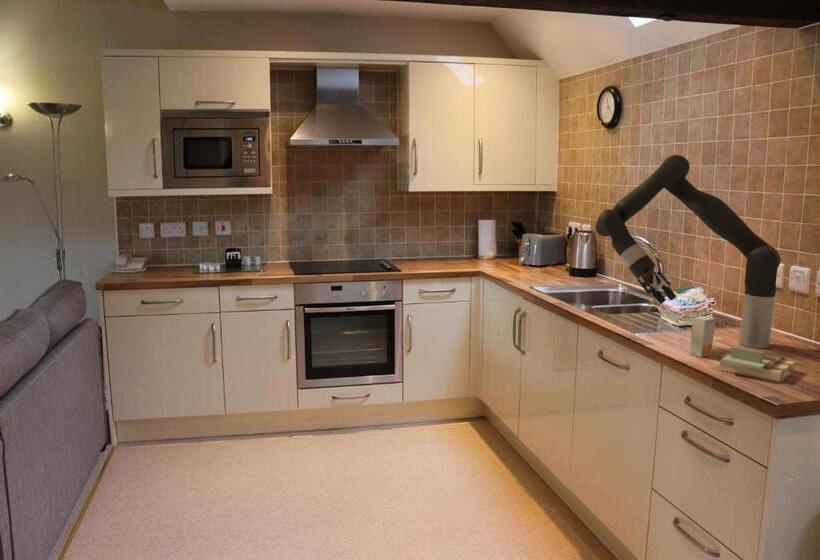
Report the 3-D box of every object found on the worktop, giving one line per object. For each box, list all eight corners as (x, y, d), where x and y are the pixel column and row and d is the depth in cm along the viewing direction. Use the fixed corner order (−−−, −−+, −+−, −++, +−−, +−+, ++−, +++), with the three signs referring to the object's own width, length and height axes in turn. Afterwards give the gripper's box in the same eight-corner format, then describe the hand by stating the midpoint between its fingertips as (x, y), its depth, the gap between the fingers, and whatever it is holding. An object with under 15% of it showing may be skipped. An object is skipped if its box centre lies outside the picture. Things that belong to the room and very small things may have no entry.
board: (736, 359, 213) (738, 347, 213) (794, 371, 203) (795, 358, 202) (719, 370, 202) (720, 356, 201) (778, 382, 191) (780, 368, 190)
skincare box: (701, 357, 214) (705, 320, 212) (688, 354, 218) (692, 317, 216) (712, 355, 218) (716, 318, 216) (699, 352, 221) (703, 315, 219)
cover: (731, 355, 205) (733, 343, 204) (770, 363, 198) (772, 350, 197) (721, 361, 199) (722, 348, 198) (761, 369, 192) (762, 356, 191)
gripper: (638, 266, 236) (668, 304, 230) (619, 270, 226) (650, 310, 220) (655, 252, 232) (686, 291, 226) (636, 255, 221) (668, 296, 215)
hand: (668, 300), depth 223 cm, fingers open, 8 cm apart
